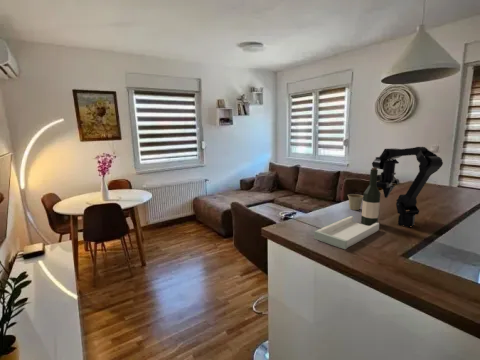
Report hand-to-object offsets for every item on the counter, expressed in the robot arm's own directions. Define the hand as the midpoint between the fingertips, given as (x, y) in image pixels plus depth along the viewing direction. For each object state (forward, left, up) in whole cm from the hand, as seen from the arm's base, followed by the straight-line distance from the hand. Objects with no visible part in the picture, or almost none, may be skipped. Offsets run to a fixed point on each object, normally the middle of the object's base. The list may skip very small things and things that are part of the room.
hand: (385, 197), depth 154 cm
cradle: (0, +42, -11) cm, 44 cm away
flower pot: (+18, -1, -11) cm, 21 cm away
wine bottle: (0, +19, -11) cm, 22 cm away
